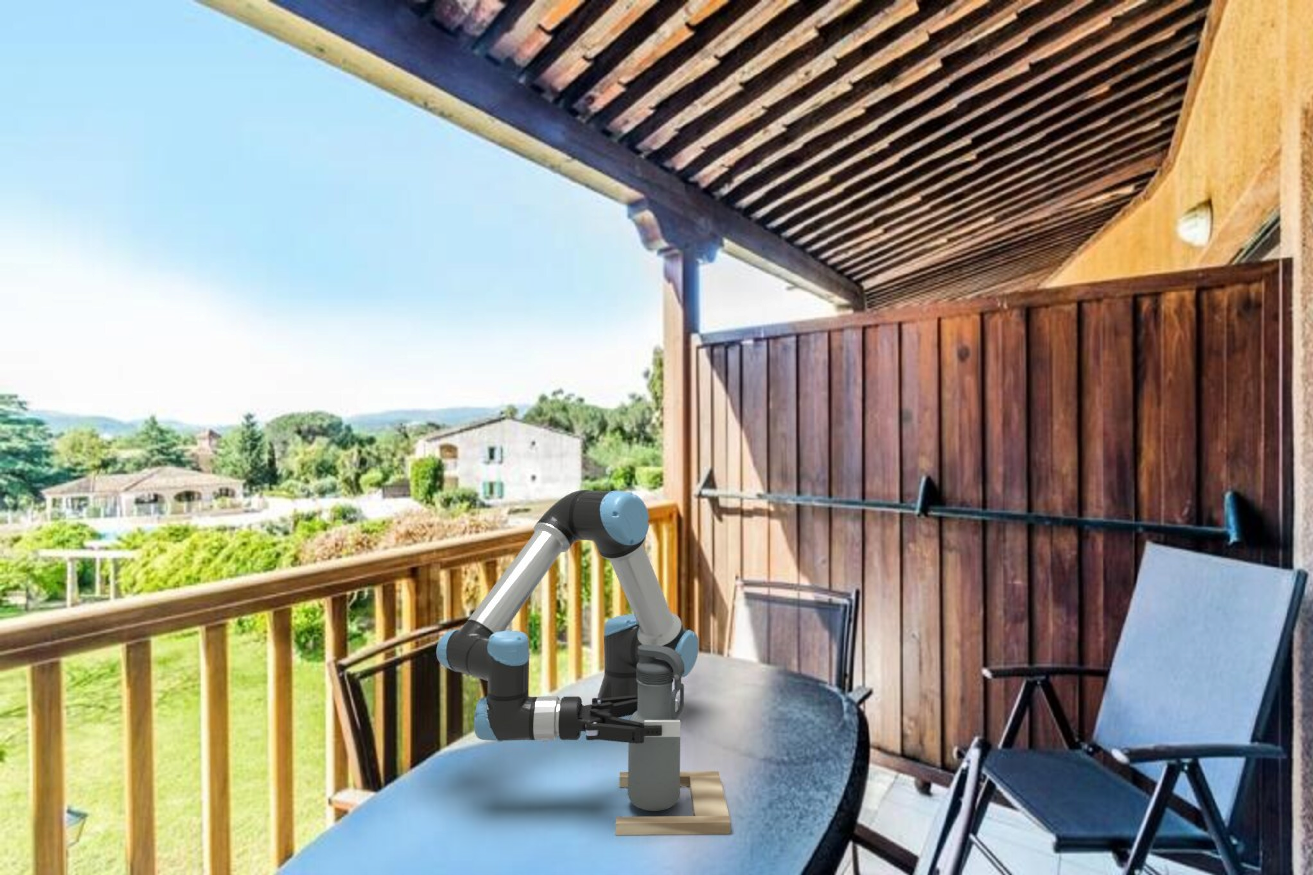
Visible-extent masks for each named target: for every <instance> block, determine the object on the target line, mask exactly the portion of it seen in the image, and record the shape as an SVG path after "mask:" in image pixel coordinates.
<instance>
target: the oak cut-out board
mask: <svg viewBox="0 0 1313 875" xmlns="http://www.w3.org/2000/svg"><path fill="white" fill-rule="evenodd" d="M680 786H690V787H689V791H690V797H691V799H692V800H691V805H692V806H693V807H692V806H691V807H692V814H693V815H691V816H690V815H688V816H687V815H680V816H679V815H676V816H674V815H673V816H670V815H669V816H668V815H667V816H664V815H663V816H616V817H615V836H666V835H667V836H674V835H678V836H679V835H683V836H685V835H732V834H731V833H732V832H731V829H732V828H731V823H732V822H731V816H730V813H729V809H728V806H727V801H726V796H725V793H724V792H725V791H724V788H723V784H722V780H721V776H720V772H719V771H718V770H711V771H709V770H708V771H705V770H703V771H700V770H698V771H689V770H688V771H680ZM619 788H628V771H620V772H619Z"/></svg>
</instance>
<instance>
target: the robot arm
mask: <svg viewBox="0 0 1313 875" xmlns="http://www.w3.org/2000/svg"><path fill="white" fill-rule="evenodd" d="M649 520H650V514H649V511H648V508H647V506H646V504H645V502H644V501H643V499H641V497H640V496H638V495H636V494H635V493H632V492H629V491H623V490H612V491H608V490H605V491H604V490H588V489H583V490H582V489H579V490H576V491H573V492H571V493H569V494H566V495H565V496H564V497H562V498H560V499H558V501H556V502H555V503H554V504H553V505H552V506H551V507H550V508H549V509H548V510H547V511H546V512H544V514H543V515H542V516H541V517H540V518H539V519H538V521H537V522H536V523H535V525H534V526H533V531H534V533H533V534H532V536H530V538H529V539H528V541H527V542H526V544H525V545H524V547H522V548H521V550H520V552H519V553H517V555H516V556H515V558H514V559H513V560H512V562H510V565H508V567H507V568H506V570H505V571H504V572H503V574H501V576H500V578H499V579H498V580H497V581H496V583H495V584H494V585H493V587H492V588H491V589H490V590H489V592H488V593H486V594H487V595H486V596H484V598H483V600H482V601H481V602H480V604H478V606H477V607H476V608H475V610H474V611H473V613H472V614H471V615H470V617H469V618H468V619H467V620H466V622H465V623H464V625H462V627H461V628H460V629H452V630H449V631H447V632H446V633H444V634H443V635H442V636H441V637H440V638H439V640H438V642H437V646H436V651H435V652H436V658H437V661H438V662H439V663H440V665H441V666H443V667H444V668H447V669H450V670H451V671H453V672H456V673H462V674H465V675H469V676H472V677H475V678H477V679H481V680H483V681H487V695H486V696H483V697H480V699H479V700H478V701H477V702H476V707H475V710H474V720H473V730H474V733H475V736H476V737H477V738H478V739H479V740H483V741H497V742H499V743H500V742H504V741H506V742H507V741H542V743H546V742H547V741H556V740H557V739H558V737H559V739H560V740H561V741H577V740H579V739H580V738H581V735H582V732H584V733H585V740H586V741H607V742H608V741H609V742H616V743H619V742H620V743H627V744H629V743H636V744H638V743H644V737H680V738H681V720H644V723H641V722H636V721H631V720H630V719H627V718H626V719H625V718H624V717H629V716H632V715H633V713H635V712H636V711H637V708H638V682H637V680H636V679H637V677H636V675H637V674H636V673H637V664H638V662H639V654H638V646H640V645H645V644H649V645H656V646H664V647H669V648H671V649H673V650H675V651H676V652H677V653H678V654H679V655H680V656H681V658H682V660H683V663H684V668H685V672H684V674H683V675H682V676H681V679H682V678H685V677H687V676H688V675H689V674H690V673H691V672H692V670H693V668H694V667H695V666H696V665H695V664H696V662H697V660H698V655H699V648H700V643H699V642H700V640H699V638H698V634H696V632H694V631H692V630H691V629H685V628H684V625H683V623H682V621H681V618H680V617H679V616H678V615H677V614H676V613H674V612H671V610H670V607H669V605H668V602H667V600H666V597H665V595H664V592H663V589H662V587H661V584H660V582H659V580H658V577H657V575H656V573H655V571H654V568H653V566H652V564H651V563H652V562H651V560H650V558H649V555H648V554H647V550H646V549H645V546H644V544H645V542H646V539H647V535H648V531H649V529H650V528H649V527H650V523H649V522H648V521H649ZM582 540H583V541H589V542H590V541H592V542H594V544H595V547H596V548H597V550H598V553H599V555H600V556H601V557H602V558H603V559H606V560H609V561H610V564H611V566H612V569H613V571H614V573H615V575H616V578H617V579H618V582H619V584H620V587H621V588H622V591H623V593H624V596H625V598H626V599H627V602H628V604H629V607H630V609H631V611H632V613H630V614H623V615H617V616H614V617H611V618H608V619H607V621H606V622H605V624H604V634H603V644H604V645H603V650H604V652H603V654H604V655H603V656H604V658H603V659H604V661H603V662H604V663H603V664H604V665H603V666H604V670H603V671H604V672H603V673H604V675H603V679H602V681H601V685H600V686H599V687H600V689H599V692H598V693H597V694H598V695H597V697H592V698H591V704H585V705H583V701H582V697H580V696H574V695H573V696H571V695H570V696H563V697H562V698H561V699H560V697H559V696H553V695H552V696H548V695H547V696H529V684H530V683H529V677H530V676H529V675H530V674H529V673H530V672H529V671H530V657H531V656H530V655H531V654H530V650H529V649H530V646H529V637H528V635H527V633H525V632H524V631H520V630H507V628H508V627H509V625H510V624H511V623H512V621H513V619H514V618H515V617H516V615H517V614H518V613H519V611H520V610H521V609H522V608H523V607H524V605H525V603H526V601H527V600H528V599H529V598H530V596H531V595H532V593H533V592H534V591H535V589H536V588H537V587H538V585H539V584H540V583H541V581H542V579H543V578H544V577H545V575H546V574H547V572H548V571H549V570H550V568H551V567H552V565H554V563H555V561H556V560H557V559H558V557H559V556H560V555H561V554H562V553H566V552H567V551H568V550H569V549H570V548H571V547H572V546H573V544H574V543H577V542H578V541H582ZM655 658H657V657H655ZM678 702H679V701H678V698H675V712H676V711H677V710H678V708H679V707H678Z"/></svg>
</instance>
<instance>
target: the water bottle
mask: <svg viewBox="0 0 1313 875" xmlns="http://www.w3.org/2000/svg"><path fill="white" fill-rule="evenodd" d="M638 654H639V662H638V664H637V673H636V674H637V675H636V677H637V679H636V680H637V682H638V708H637V711H636V712H635V713H633V715H630V718H629V720H631V721H636V722H641V723H644V720H680V717H679V716H680V715H681V713H682V712H683V709H684V705H685V704H684V703H685V684H684V683H682V678H681V676H682V675H683V674H684V672H685V668H684V663H683V660H682V658H681V656H680V655H679V654H678V653H677V652H676V651H675V650H673V649H671V648H669V647H664V646H656V645H649V644H645V645H640V646H638ZM655 657H657V658H655ZM673 682H674V684H673ZM673 685H674V689H673ZM678 692H679V707H678V710H677V711H676V712H675V699H677V698H676V697H677V694H678ZM680 721H681V720H680ZM627 744H628V745H627V746H628V751H627V752H628V754H627V756H628V760H627V761H628V762H627V763H628V764H627V766H628V768H627V770H628V771H627V772H628V787H627V796H628V800H629V801H630V803H631V804H632V805H633V806H635V807H636V808H638V809H640V810H644V811H649V812H658V811H659V812H660V811H664V810H668V809H670V808H672V807H673V806H675V805H676V804H677V803H678V801H679V800H680V796H681V787H680V772H681V736H680V737H644V743H638V744H636V743H627Z"/></svg>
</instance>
